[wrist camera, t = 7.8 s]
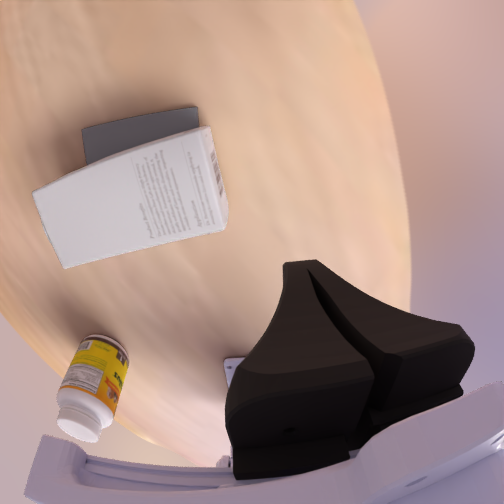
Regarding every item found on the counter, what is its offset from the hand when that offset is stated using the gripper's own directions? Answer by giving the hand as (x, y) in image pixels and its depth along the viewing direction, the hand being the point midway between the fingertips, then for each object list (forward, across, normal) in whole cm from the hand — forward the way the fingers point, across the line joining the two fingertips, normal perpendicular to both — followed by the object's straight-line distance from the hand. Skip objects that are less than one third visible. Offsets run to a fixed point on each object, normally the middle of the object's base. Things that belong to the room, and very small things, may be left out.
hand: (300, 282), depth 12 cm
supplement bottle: (+11, +18, +14) cm, 25 cm away
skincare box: (+8, +3, -3) cm, 9 cm away
